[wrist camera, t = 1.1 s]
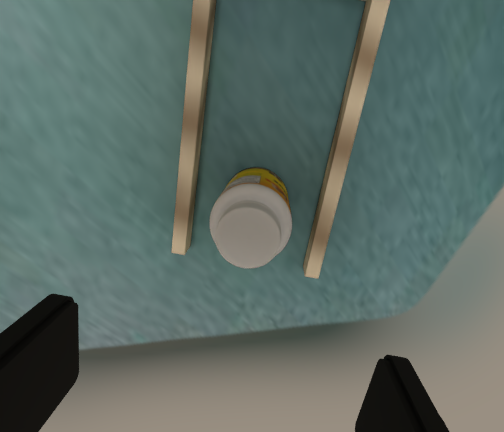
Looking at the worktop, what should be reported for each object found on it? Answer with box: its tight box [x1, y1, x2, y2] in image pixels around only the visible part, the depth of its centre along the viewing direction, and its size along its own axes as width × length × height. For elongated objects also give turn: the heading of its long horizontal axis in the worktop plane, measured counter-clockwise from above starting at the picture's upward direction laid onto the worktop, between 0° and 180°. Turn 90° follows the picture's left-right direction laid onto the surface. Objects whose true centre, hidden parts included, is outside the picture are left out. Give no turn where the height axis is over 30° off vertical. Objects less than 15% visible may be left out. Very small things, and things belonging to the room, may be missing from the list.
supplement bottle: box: [210, 167, 292, 268], centre depth 23 cm, size 6×6×10 cm
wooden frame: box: [172, 0, 390, 279], centre depth 24 cm, size 24×13×4 cm, turn 171°
